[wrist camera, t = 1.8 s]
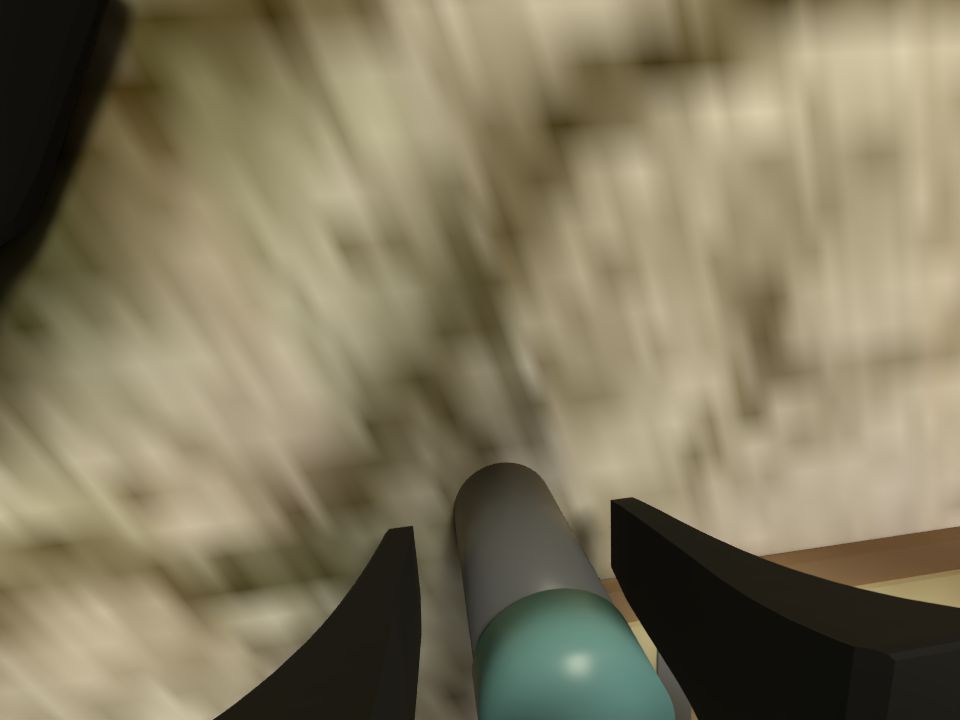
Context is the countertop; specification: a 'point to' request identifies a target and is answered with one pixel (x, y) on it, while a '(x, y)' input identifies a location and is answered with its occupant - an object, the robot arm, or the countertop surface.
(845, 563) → the clipboard
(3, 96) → the electric trimmer
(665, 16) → the countertop surface
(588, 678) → the marker
